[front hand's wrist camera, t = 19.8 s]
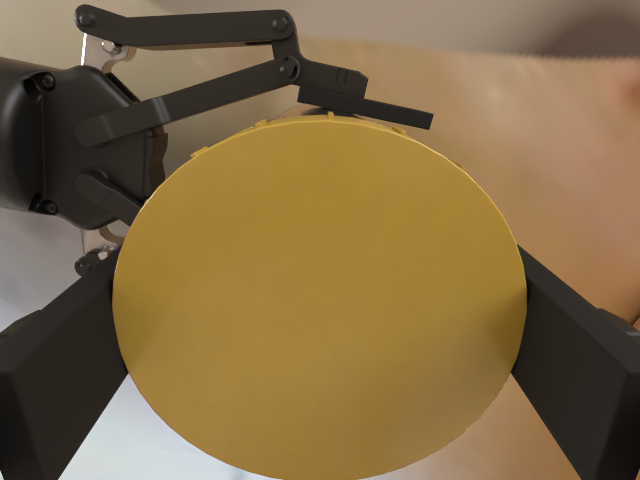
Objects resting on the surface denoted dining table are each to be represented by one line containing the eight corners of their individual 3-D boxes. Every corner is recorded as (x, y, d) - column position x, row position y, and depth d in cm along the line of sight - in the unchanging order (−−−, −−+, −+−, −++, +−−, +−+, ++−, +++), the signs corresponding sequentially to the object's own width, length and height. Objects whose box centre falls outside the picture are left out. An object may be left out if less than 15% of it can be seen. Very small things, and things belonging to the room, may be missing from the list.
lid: (91, 137, 10) (51, 147, 9) (510, 90, 10) (546, 91, 8) (183, 450, 14) (166, 497, 12) (494, 424, 13) (516, 468, 12)
